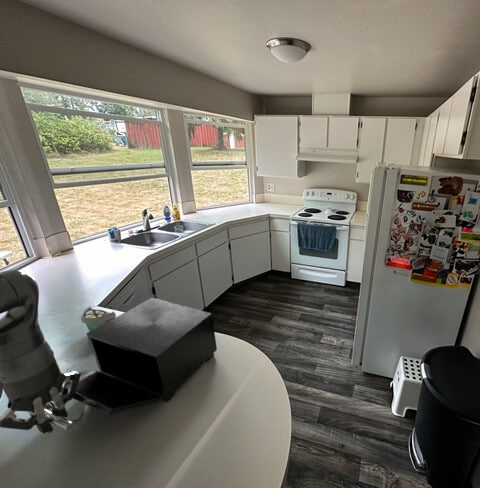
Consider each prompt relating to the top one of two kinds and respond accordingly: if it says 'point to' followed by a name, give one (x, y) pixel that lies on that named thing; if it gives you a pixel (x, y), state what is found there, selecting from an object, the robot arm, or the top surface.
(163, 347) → the oven
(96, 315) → the food container
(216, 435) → the top surface
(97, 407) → the oven door
